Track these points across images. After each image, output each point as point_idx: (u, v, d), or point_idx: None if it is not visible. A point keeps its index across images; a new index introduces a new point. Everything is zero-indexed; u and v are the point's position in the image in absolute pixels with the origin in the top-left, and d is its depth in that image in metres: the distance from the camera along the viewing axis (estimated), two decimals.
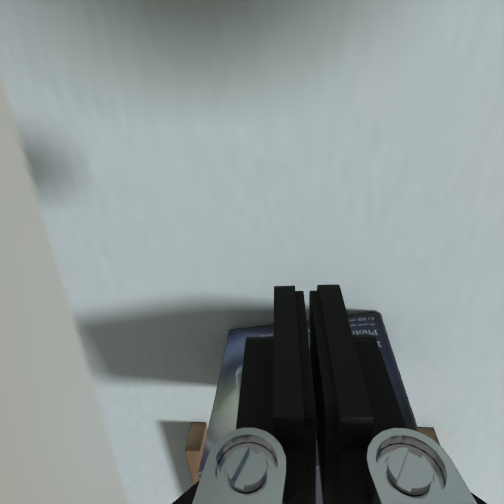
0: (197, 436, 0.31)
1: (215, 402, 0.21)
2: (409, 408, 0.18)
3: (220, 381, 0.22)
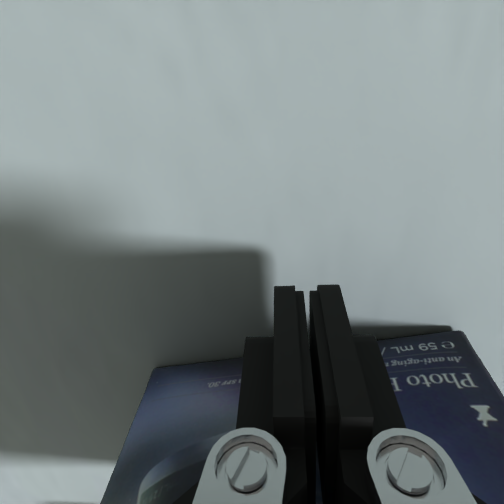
0: None
1: None
2: None
3: None
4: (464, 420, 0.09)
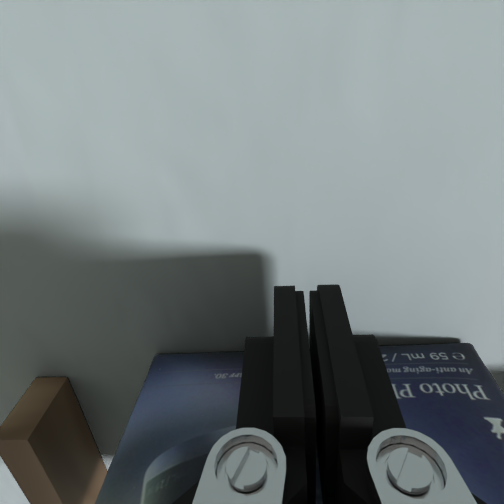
0: (35, 406, 0.13)
1: None
2: None
3: (102, 496, 0.09)
4: (478, 431, 0.09)
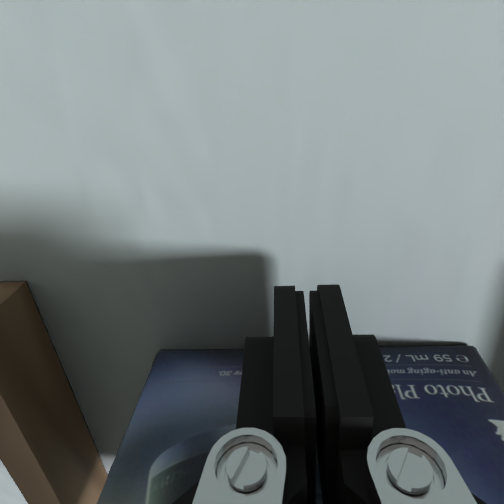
0: None
1: None
2: None
3: (106, 491, 0.09)
4: (483, 433, 0.09)
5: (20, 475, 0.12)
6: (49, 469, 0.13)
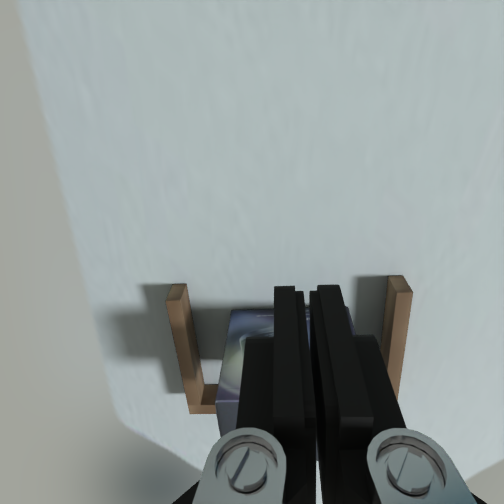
0: (177, 292, 0.32)
1: (224, 358, 0.28)
2: None
3: (227, 345, 0.30)
4: None
5: (181, 356, 0.33)
6: (191, 354, 0.33)
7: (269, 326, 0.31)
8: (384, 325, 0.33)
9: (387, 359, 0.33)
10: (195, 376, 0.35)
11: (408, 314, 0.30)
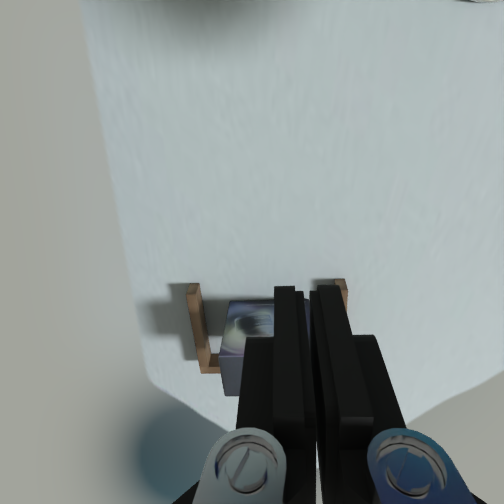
0: (193, 288, 0.47)
1: (224, 332, 0.44)
2: None
3: (226, 323, 0.45)
4: None
5: (195, 332, 0.49)
6: (202, 331, 0.49)
7: (254, 312, 0.46)
8: None
9: None
10: (205, 346, 0.50)
11: (346, 304, 0.45)
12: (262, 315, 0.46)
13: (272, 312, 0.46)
